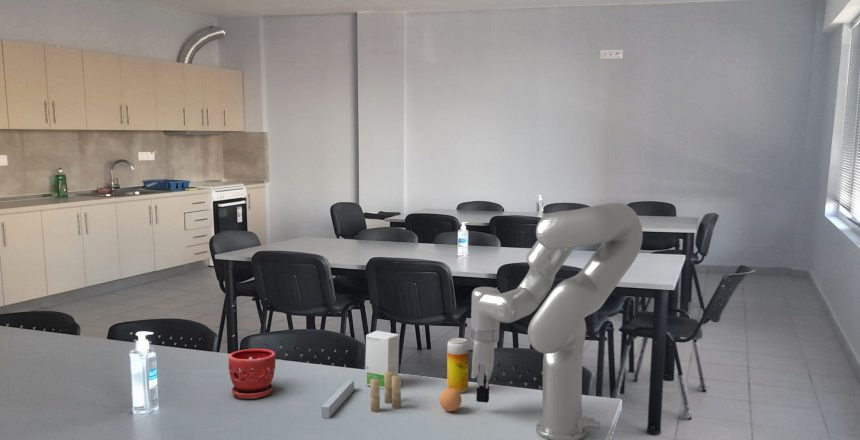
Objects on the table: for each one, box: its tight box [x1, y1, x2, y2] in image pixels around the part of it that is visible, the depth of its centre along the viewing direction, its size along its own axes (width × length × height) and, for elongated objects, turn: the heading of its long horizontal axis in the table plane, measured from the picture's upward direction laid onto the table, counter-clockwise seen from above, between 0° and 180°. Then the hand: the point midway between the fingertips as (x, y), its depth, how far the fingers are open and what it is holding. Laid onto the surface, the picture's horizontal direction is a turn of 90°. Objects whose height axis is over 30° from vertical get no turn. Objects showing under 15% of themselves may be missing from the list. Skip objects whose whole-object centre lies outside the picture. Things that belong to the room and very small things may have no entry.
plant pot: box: [228, 348, 276, 400], centre depth 201 cm, size 13×13×12 cm
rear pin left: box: [370, 378, 381, 413], centre depth 187 cm, size 2×2×8 cm
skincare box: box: [364, 330, 400, 390], centre depth 208 cm, size 8×7×16 cm
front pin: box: [391, 374, 402, 410], centre depth 190 cm, size 2×2×8 cm
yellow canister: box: [446, 337, 469, 394], centre depth 202 cm, size 6×6×15 cm
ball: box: [438, 388, 463, 412], centre depth 187 cm, size 6×6×6 cm
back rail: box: [321, 379, 355, 419], centre depth 193 cm, size 2×22×3 cm, turn 169°
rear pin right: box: [384, 371, 393, 404], centre depth 194 cm, size 2×2×8 cm
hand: (482, 400), depth 186 cm, fingers closed
